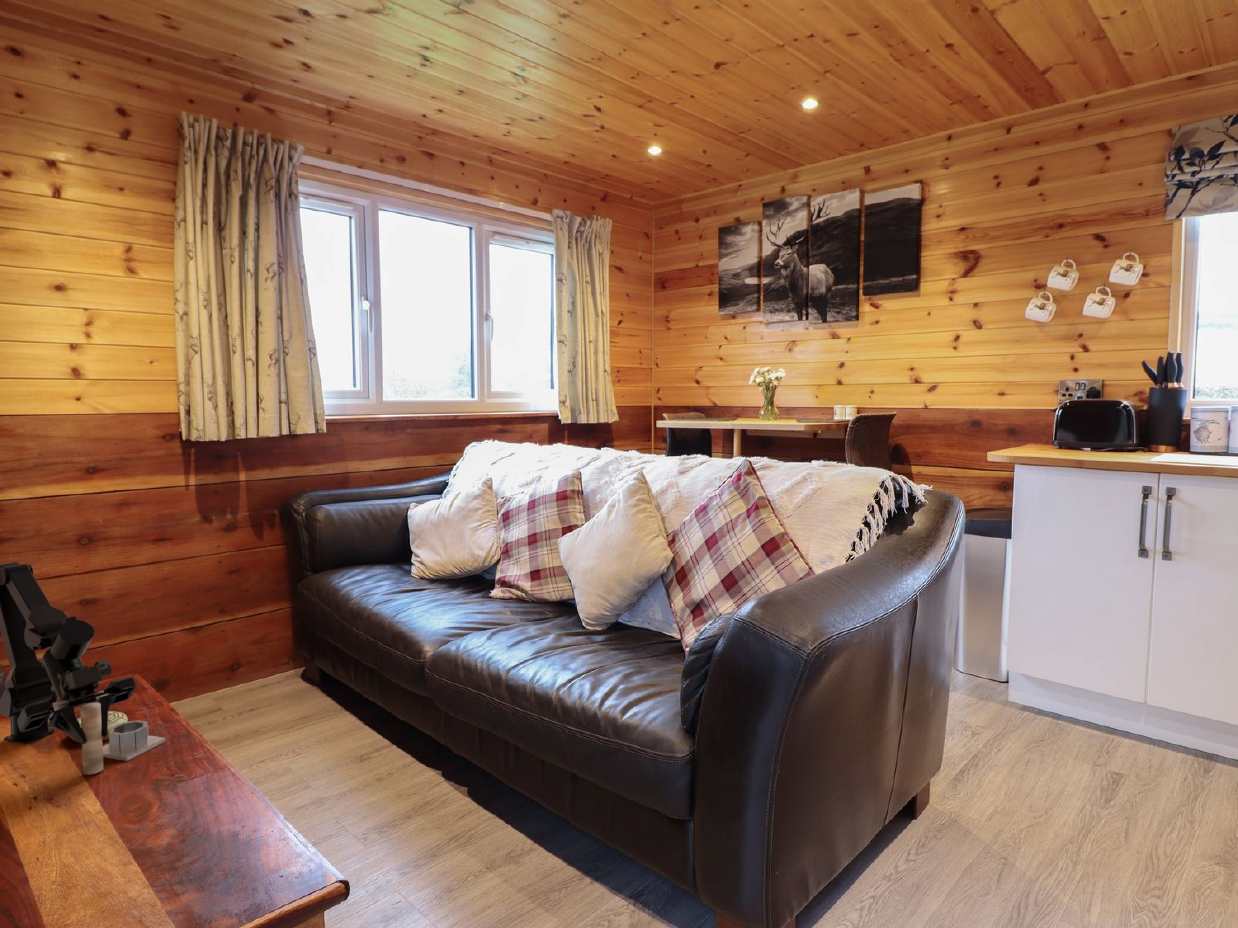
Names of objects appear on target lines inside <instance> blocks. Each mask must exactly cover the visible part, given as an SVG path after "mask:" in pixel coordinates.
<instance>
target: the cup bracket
mask: <svg viewBox="0 0 1238 928" xmlns="http://www.w3.org/2000/svg"><path fill="white" fill-rule="evenodd" d="M108 742H109V743H107V744H105V745H103V758H105V759H113V760H118V761H123V762H124V761H125V762H127V761H129V760H132V759H134V758H136V757H138V756H140V755H142V754H144V753H145V752H147V751H150V750H153V748H156V747H158V746H160V745H161V744H163V743H165V742H166V737H161V736H156V735H149V722H148V721H146V720H145V721H144V720H137V719H135V720H131V721H128V722H124V723H121V724H118V725H116V726H114V727H112V728H110V730H109V739H108Z"/></svg>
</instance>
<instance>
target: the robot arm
mask: <svg viewBox="0 0 1238 928" xmlns="http://www.w3.org/2000/svg"><path fill="white" fill-rule="evenodd" d="M0 635H1V637H2V642H3V646H4V649H5V653H6V657H7V661H8V665H9V668H10V670H9V672H8V675H7V677H6V680H5V682H4V691H3V693H2V695H1V697H0V714H1V715H4V716H6V717H7V718H10V735H9V734H8V735H7V736H5V737H3V741H5V742H12V743H19V744H23V745H25V744H28V743H31V742H33V741H37V740H38V739H40V738H43V737H45V736H48V735H50V734H52V733H55V732H56V729H58V730H59V731H62V732H64V733H65V734H67V735H68V736H69V735H70V736H71V737H73V738H74V739H76V740H77V741H79V742H78V743H80V744H81V745H82V744H85V743H86V738H85V735H84V732H83V730H82V728H81V726H80V725H79V723H78V721H77V719H78V718H77V717H76V714H75V709H77V708H80V707H81V706H83V705H85V704H89V703H100V704H101V723H102V736H103V737H106V736H107V731H108V711H109V709H110V708H111V706H113V705H117V704H120V703H122V702H126V701H128V700H129V699H131V697H132V696H133V694H134V692H135V691H136V689H137V687H138V683H137V682H136V679H135V678H134V677H132V676H130V675H128V676H125V677H121V678H117V679H113V680H111V681H110V682H109V684H108V686H107V688H105V689H102V690H97V691H95V689H98V688H99V687H100V683H99V682H102V681H104V680H105V679H104V677H107V676H109V675H111V674H112V673H113V668H112V665H111V663H110V660H108V658H105V659H100V660H97V662H95V663H94V665H93V666H88V665H87V664H86V665H84V663H83V660H82V658H81V657H82V656H83V655H84V654H86V653H85V652H86V651H87V649H88V647H89V645H90V643H91V642H92V639H93V638H94V635H95V628H94V627H93V625H91V624H90V623H88V622H86V621H84V620H80V619H77V616H76V615H74V616H69V615H67V614H66V613H65V611H64V610H61V609H59V608H56V607H54V606H52V604H51V603H50V601H49V599H48V597H47V596H46V594H45V592H44V591H43V589H42V588H41V586H40V584H39V582H38V581H37V579H36V578H35V576H34V569H33V567H32V565H31V564H30V563H29V564H26V563H19V562H17V561H11V562H6V563H0ZM46 649H47V650H46ZM41 650H46V651H45V652H44V654H43V656H42V658H41V661H40V660H39V659H38V657H37V652H36V651H41ZM57 700H58V701H57ZM70 736H69V737H70ZM71 737H70V738H71Z"/></svg>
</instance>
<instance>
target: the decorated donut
mask: <svg viewBox="0 0 1238 928" xmlns="http://www.w3.org/2000/svg"><path fill="white" fill-rule="evenodd" d="M76 719H77V721H78V723H79V725H80V726H81V717H79V718H76ZM124 722H129V719H128V716H127V715H126V714H125V713H124V712H119V711H115V710H114V711H113V710H110V711H109V710H108V731H107V736H106V737H103V736H102V742H103V741H109V730H110V728H112V727H114V726H116V725H118V724H121V723H124ZM68 736H69V738H70V739H71V740H72V741H74V742H77V743H80V742H79V741H77V740H76V739H74V738H73V737H71V736H70V735H69V734H68Z"/></svg>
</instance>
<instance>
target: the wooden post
mask: <svg viewBox="0 0 1238 928" xmlns="http://www.w3.org/2000/svg"><path fill="white" fill-rule="evenodd" d="M79 709H80V711H79V713H80V718H81V728H82V730H83V732H84V735H85V738H86V743H85V744H81V752H82V769H83V770H82V772H83V775H88V776H89V775H90V776H91V775H94V774H95V775H96V774H97V773H100V772H102V771H103V770H104V768H105V767H104V757H103V746H104V745H103V741H102V723H101V704H100V703H89V704H85V705H83V706H81V707H79Z"/></svg>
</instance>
